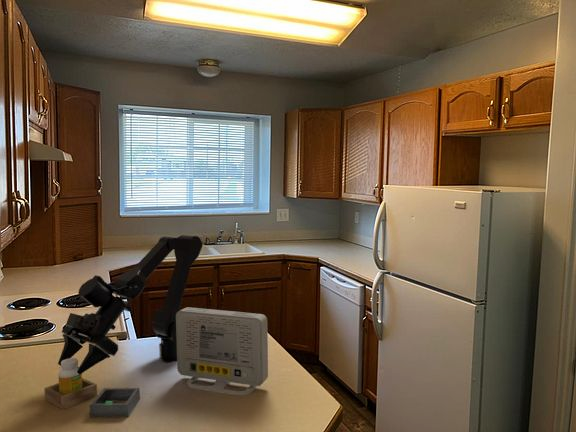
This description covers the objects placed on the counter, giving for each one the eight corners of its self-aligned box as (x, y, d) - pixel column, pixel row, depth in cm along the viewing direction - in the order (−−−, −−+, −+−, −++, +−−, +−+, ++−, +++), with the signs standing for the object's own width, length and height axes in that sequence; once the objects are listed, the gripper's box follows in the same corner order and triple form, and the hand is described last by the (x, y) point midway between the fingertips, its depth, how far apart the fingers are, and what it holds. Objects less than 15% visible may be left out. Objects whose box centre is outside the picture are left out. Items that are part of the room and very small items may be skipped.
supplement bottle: (73, 403, 117) (71, 365, 116) (54, 401, 118) (52, 364, 118) (87, 393, 123) (85, 357, 122) (68, 392, 124) (67, 356, 123)
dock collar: (104, 399, 119) (103, 385, 119) (139, 399, 119) (139, 385, 119) (90, 417, 110) (89, 402, 110) (128, 417, 110) (127, 402, 110)
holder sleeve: (78, 386, 127) (77, 376, 126) (97, 395, 121) (96, 384, 121) (44, 399, 119) (44, 388, 119) (63, 409, 114) (62, 397, 114)
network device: (271, 384, 127) (270, 312, 126) (258, 398, 119) (257, 321, 117) (189, 372, 136) (187, 304, 134) (172, 385, 127) (170, 313, 126)
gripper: (67, 295, 128) (27, 346, 120) (106, 305, 117) (65, 362, 109) (94, 316, 135) (58, 366, 127) (134, 328, 124) (97, 383, 116)
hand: (68, 369), depth 120 cm, fingers open, 9 cm apart
